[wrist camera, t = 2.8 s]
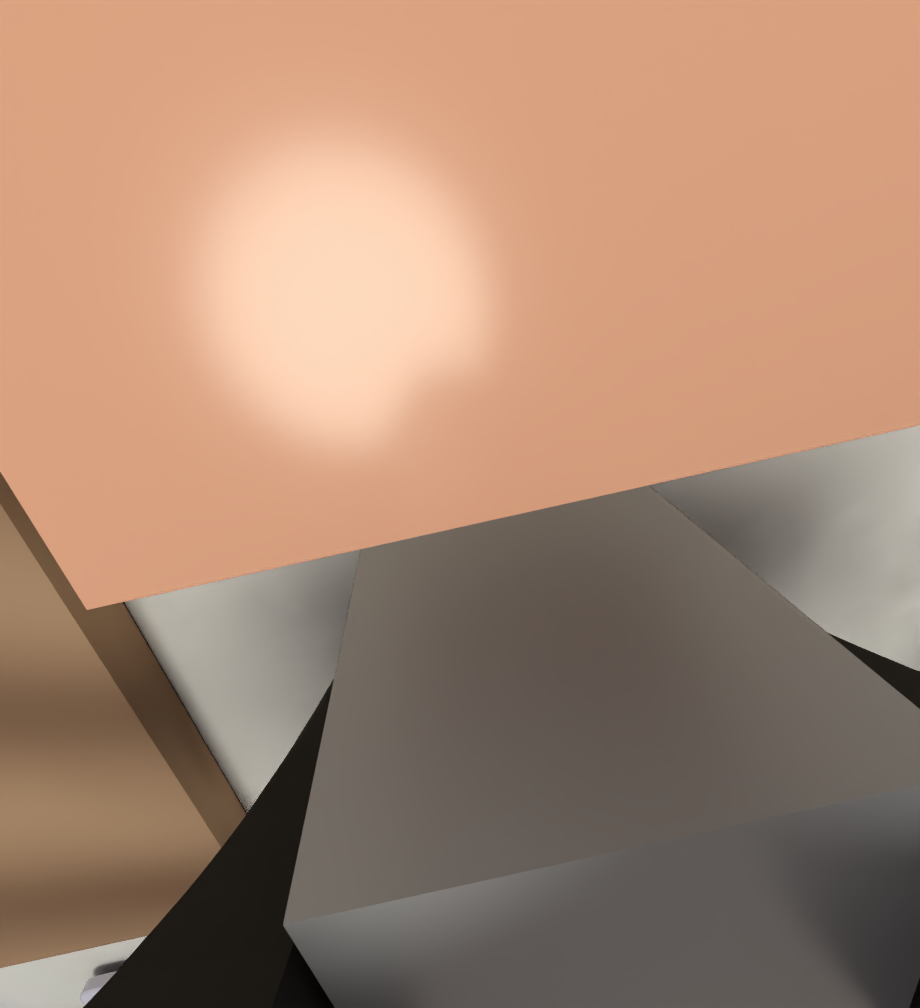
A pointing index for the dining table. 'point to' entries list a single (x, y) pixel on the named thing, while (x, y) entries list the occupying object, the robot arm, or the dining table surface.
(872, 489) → the dining table surface
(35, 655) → the walnut board
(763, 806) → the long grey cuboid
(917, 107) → the peach rectangular block
